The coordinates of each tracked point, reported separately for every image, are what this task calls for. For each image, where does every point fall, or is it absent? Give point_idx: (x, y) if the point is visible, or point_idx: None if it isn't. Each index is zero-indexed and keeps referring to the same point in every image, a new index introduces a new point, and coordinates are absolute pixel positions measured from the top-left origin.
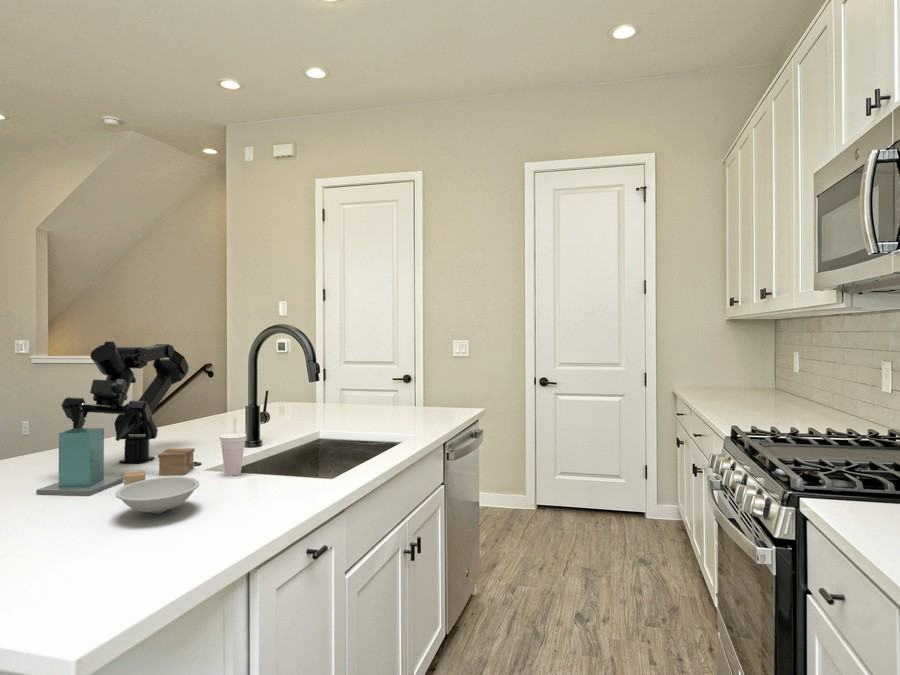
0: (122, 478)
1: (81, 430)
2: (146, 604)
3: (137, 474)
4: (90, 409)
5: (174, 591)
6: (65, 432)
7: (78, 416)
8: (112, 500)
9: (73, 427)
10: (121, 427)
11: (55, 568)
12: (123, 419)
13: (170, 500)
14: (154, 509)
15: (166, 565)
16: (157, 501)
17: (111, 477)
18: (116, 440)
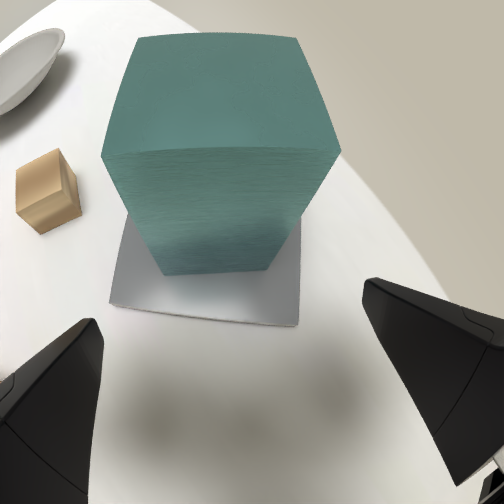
0: (110, 297)
1: (224, 75)
2: (55, 2)
3: (30, 166)
4: (499, 501)
5: (41, 11)
6: (275, 43)
7: (496, 342)
8: (89, 131)
9: (432, 297)
10: (38, 362)
11: (109, 3)
12: (2, 414)
13: (9, 56)
14: (27, 58)
15: (39, 23)
16: (22, 45)
17: (152, 309)
18: (101, 335)
